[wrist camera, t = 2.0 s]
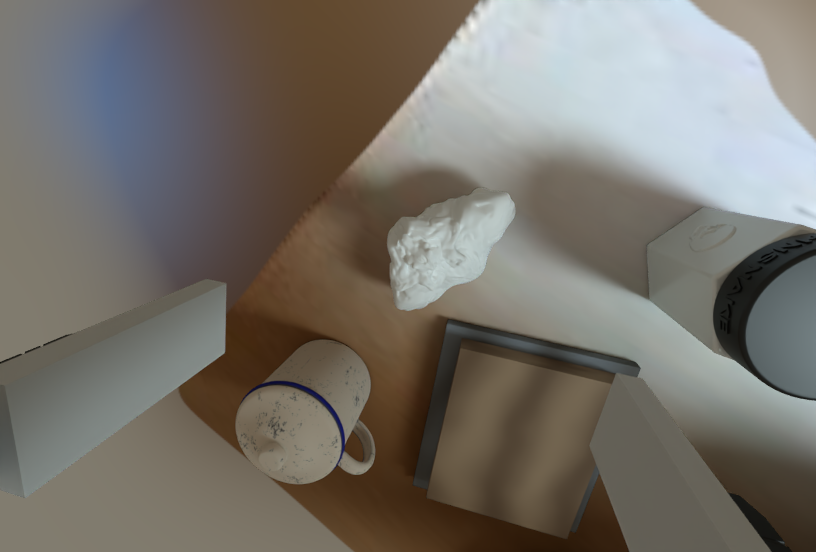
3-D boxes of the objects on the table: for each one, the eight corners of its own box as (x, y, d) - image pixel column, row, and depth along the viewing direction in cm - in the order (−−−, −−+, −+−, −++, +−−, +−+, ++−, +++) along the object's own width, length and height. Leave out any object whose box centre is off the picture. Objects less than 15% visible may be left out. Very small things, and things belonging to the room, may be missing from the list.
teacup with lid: (271, 375, 40) (189, 454, 29) (322, 317, 37) (253, 381, 26) (358, 451, 40) (310, 558, 29) (415, 400, 37) (386, 497, 26)
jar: (730, 183, 28) (901, 195, 16) (795, 269, 28) (1002, 338, 17) (617, 260, 31) (696, 315, 19) (678, 336, 31) (789, 434, 20)
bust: (498, 184, 33) (424, 113, 24) (559, 242, 29) (495, 183, 20) (406, 280, 37) (312, 249, 28) (447, 343, 33) (353, 331, 24)
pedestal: (636, 362, 32) (650, 381, 30) (573, 523, 38) (580, 552, 35) (448, 319, 35) (445, 333, 32) (414, 477, 40) (408, 501, 37)
